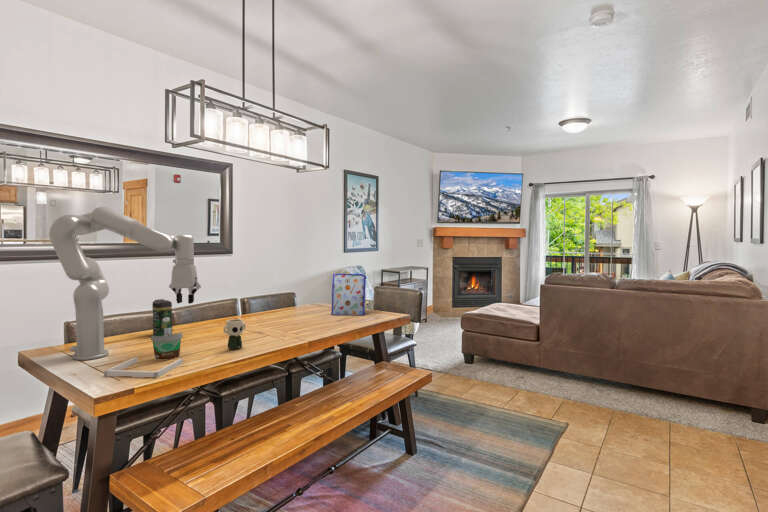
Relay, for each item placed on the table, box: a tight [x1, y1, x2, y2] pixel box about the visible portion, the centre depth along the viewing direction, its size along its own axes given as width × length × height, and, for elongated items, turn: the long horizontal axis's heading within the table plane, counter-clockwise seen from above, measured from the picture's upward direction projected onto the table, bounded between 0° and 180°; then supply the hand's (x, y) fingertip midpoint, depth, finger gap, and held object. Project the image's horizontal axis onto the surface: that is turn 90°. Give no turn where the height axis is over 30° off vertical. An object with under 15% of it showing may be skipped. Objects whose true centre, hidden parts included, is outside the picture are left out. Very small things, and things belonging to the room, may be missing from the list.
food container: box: [150, 332, 184, 360], centre depth 176 cm, size 12×6×10 cm, turn 131°
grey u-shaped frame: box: [104, 356, 184, 378], centre depth 161 cm, size 20×17×2 cm
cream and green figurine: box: [223, 318, 246, 350], centre depth 192 cm, size 11×7×13 cm, turn 141°
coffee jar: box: [151, 298, 173, 336], centre depth 215 cm, size 10×8×19 cm
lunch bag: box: [330, 272, 367, 316], centre depth 280 cm, size 23×17×27 cm
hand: (185, 302), depth 189 cm, fingers open, 4 cm apart
